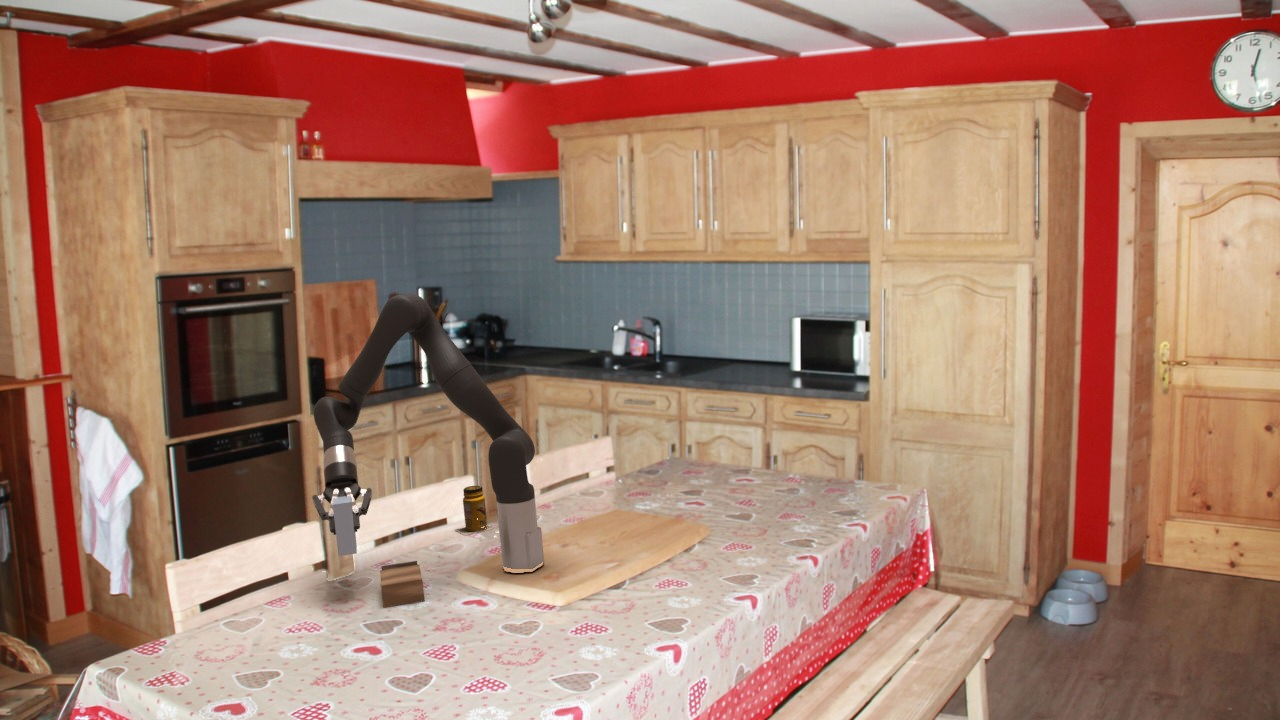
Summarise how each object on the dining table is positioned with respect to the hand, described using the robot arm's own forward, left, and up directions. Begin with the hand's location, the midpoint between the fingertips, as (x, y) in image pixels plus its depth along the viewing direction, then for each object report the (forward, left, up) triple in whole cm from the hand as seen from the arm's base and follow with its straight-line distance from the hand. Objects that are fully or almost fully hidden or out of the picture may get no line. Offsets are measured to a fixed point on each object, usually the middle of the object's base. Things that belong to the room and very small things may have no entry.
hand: (345, 531), depth 237 cm
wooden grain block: (-8, -8, -16) cm, 19 cm away
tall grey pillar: (+1, -2, -5) cm, 5 cm away
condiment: (+3, -56, -16) cm, 58 cm away
